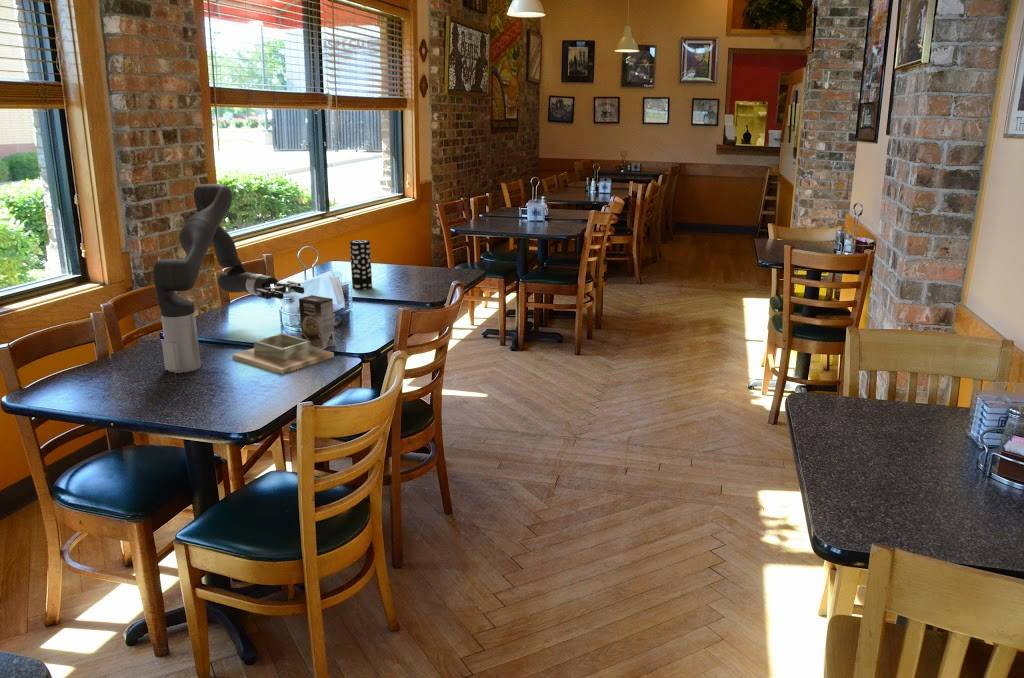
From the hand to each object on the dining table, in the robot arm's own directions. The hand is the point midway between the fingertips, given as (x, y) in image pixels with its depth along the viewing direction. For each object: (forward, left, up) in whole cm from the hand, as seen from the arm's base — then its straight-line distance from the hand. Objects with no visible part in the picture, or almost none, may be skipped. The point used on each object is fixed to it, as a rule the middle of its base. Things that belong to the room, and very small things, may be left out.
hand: (293, 293), depth 262 cm
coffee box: (0, -11, -16) cm, 20 cm away
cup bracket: (-15, -12, -16) cm, 25 cm away
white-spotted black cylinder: (+65, +37, -16) cm, 76 cm away
